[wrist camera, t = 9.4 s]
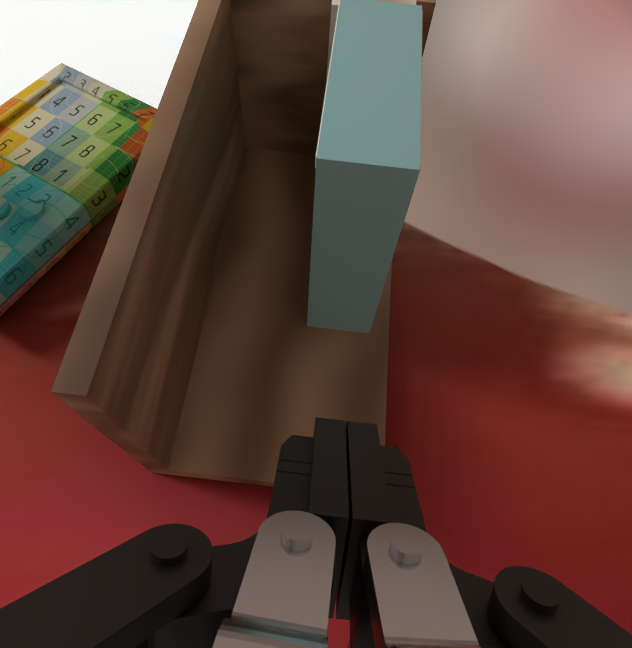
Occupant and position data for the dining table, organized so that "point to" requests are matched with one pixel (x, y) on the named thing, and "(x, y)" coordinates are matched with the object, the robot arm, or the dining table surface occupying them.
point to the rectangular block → (364, 159)
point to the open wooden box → (225, 262)
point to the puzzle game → (61, 169)
